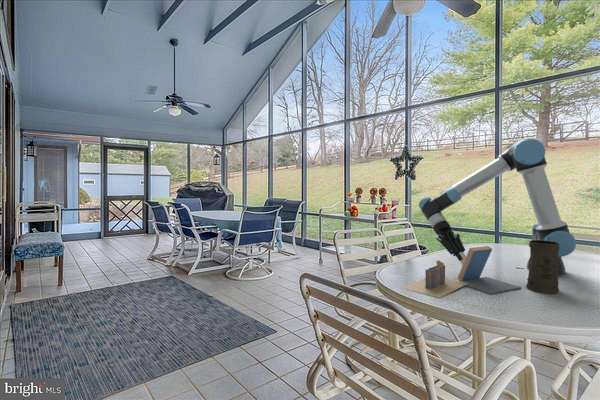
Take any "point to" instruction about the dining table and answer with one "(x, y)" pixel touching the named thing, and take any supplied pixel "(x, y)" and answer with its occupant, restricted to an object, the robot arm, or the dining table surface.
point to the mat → (489, 285)
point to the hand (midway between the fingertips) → (467, 266)
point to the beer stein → (543, 267)
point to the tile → (474, 263)
